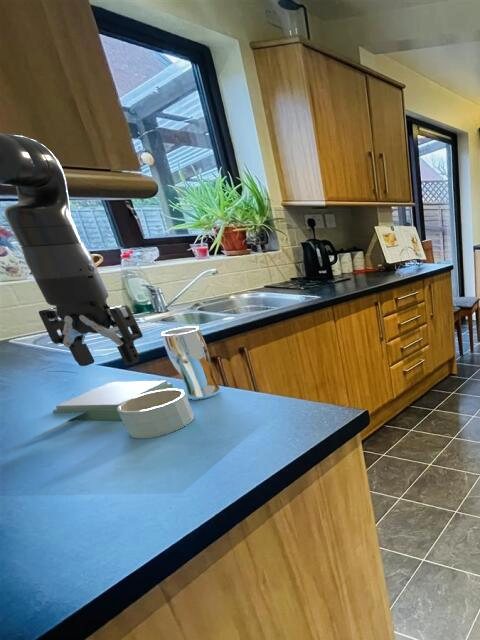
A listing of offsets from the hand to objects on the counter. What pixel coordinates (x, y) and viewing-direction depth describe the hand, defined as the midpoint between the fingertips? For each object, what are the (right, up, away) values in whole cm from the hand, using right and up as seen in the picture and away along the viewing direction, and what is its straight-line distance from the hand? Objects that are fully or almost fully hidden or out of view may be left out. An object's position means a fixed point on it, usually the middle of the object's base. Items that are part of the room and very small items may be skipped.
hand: (110, 364), depth 73 cm
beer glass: (+3, -6, +18) cm, 20 cm away
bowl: (+5, -12, +5) cm, 14 cm away
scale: (-12, -8, +14) cm, 20 cm away
